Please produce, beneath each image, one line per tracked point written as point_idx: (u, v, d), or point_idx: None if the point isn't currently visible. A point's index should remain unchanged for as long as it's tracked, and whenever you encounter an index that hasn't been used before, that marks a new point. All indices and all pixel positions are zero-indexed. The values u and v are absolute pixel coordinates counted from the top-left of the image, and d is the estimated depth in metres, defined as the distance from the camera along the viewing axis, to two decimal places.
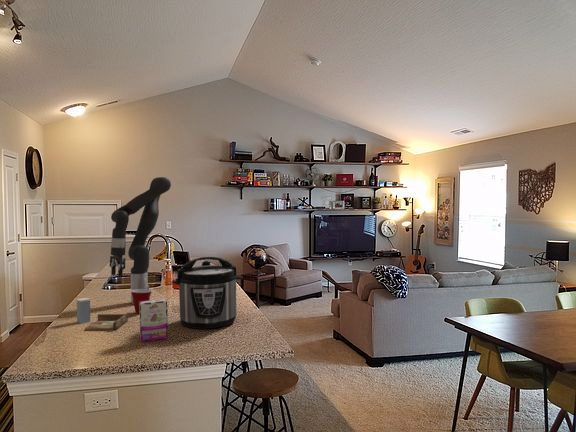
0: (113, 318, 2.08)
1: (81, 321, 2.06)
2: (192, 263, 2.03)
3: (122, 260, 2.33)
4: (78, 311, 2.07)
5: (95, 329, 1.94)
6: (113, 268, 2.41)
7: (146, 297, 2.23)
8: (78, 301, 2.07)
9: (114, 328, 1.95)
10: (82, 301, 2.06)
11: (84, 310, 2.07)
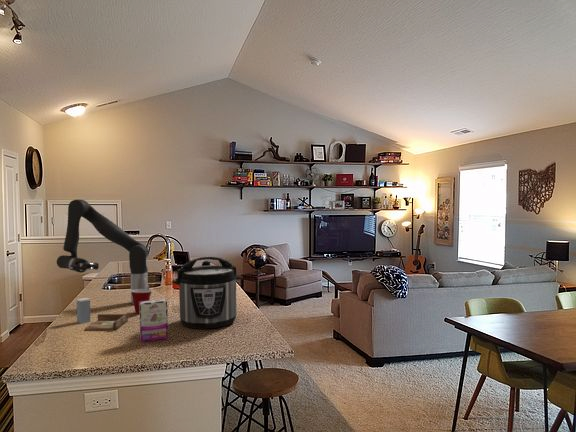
0: (113, 318, 2.08)
1: (81, 321, 2.06)
2: (192, 263, 2.03)
3: (71, 268, 2.22)
4: (78, 311, 2.07)
5: (95, 329, 1.94)
6: (93, 267, 2.25)
7: (146, 297, 2.23)
8: (78, 301, 2.07)
9: (114, 328, 1.95)
10: (82, 301, 2.06)
11: (84, 310, 2.07)
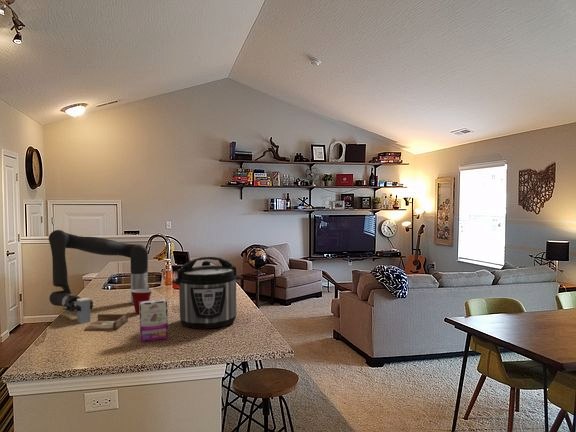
0: (113, 318, 2.08)
1: (81, 321, 2.06)
2: (192, 263, 2.03)
3: (64, 308, 2.08)
4: (78, 311, 2.07)
5: (95, 329, 1.94)
6: None
7: (146, 297, 2.23)
8: (78, 301, 2.07)
9: (114, 328, 1.95)
10: (82, 301, 2.06)
11: (84, 310, 2.07)
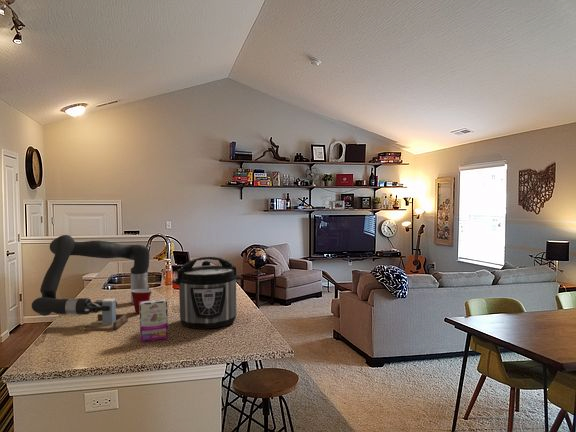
0: None
1: (112, 322, 2.01)
2: (192, 263, 2.03)
3: (87, 310, 1.95)
4: (106, 312, 2.00)
5: (95, 329, 1.94)
6: None
7: (146, 297, 2.23)
8: (107, 302, 2.00)
9: (114, 328, 1.95)
10: (112, 301, 2.01)
11: (113, 310, 2.02)
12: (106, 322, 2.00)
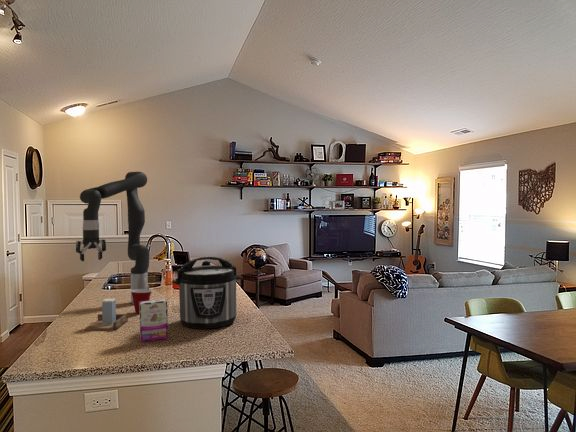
0: None
1: (112, 322, 2.01)
2: (192, 263, 2.03)
3: (76, 243, 2.16)
4: (106, 312, 2.00)
5: (95, 329, 1.94)
6: (98, 252, 2.23)
7: (146, 297, 2.23)
8: (107, 302, 2.00)
9: (114, 328, 1.95)
10: (112, 301, 2.01)
11: (113, 310, 2.02)
12: (106, 322, 2.00)
